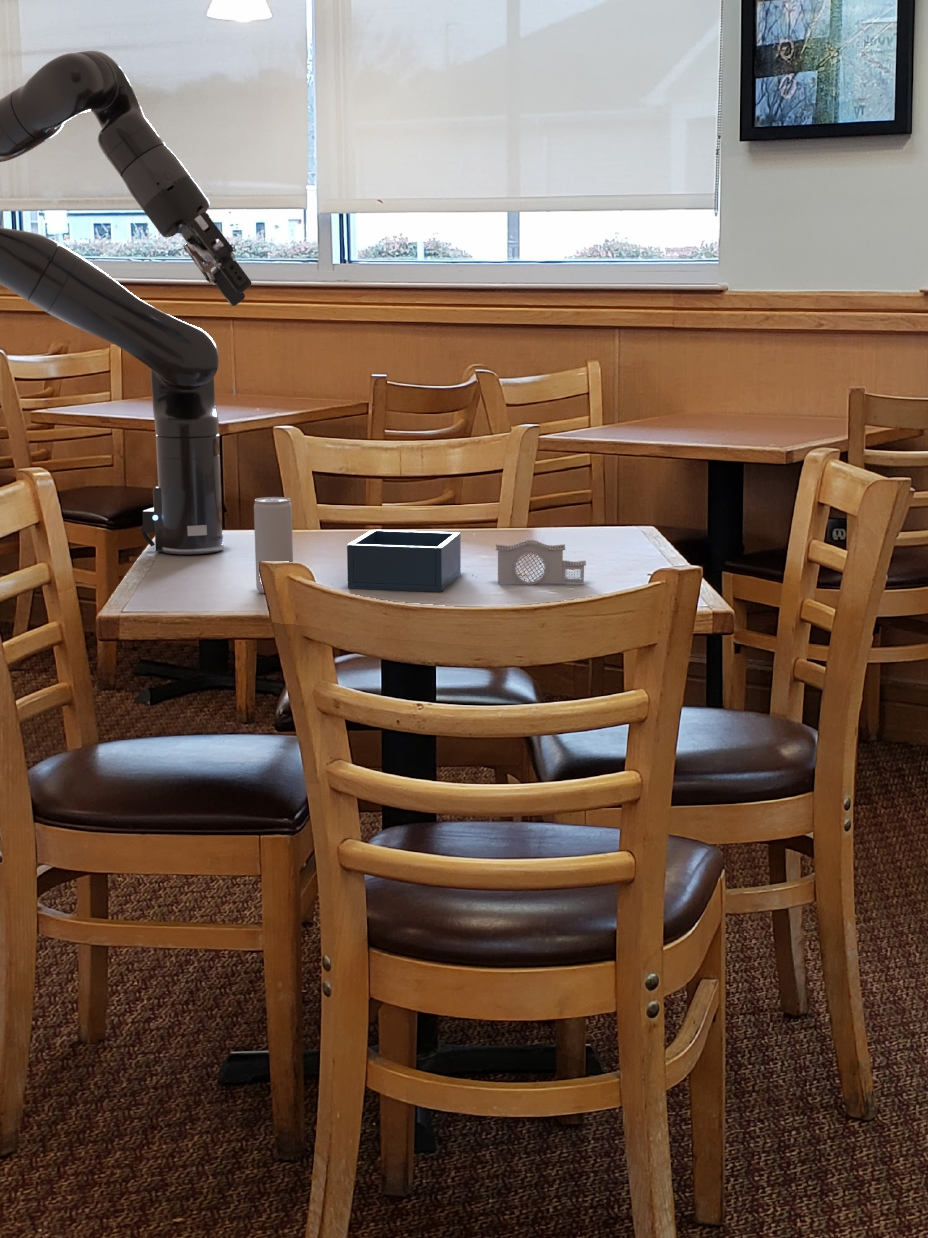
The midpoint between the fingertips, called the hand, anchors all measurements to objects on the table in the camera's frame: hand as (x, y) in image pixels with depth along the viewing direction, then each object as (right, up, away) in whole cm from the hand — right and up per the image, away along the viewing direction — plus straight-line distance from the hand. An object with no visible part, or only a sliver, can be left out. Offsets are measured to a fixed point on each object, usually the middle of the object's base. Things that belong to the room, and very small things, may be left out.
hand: (242, 295), depth 190 cm
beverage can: (+4, -38, 0) cm, 39 cm away
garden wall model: (+39, -37, +5) cm, 54 cm away
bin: (+21, -37, +7) cm, 43 cm away
